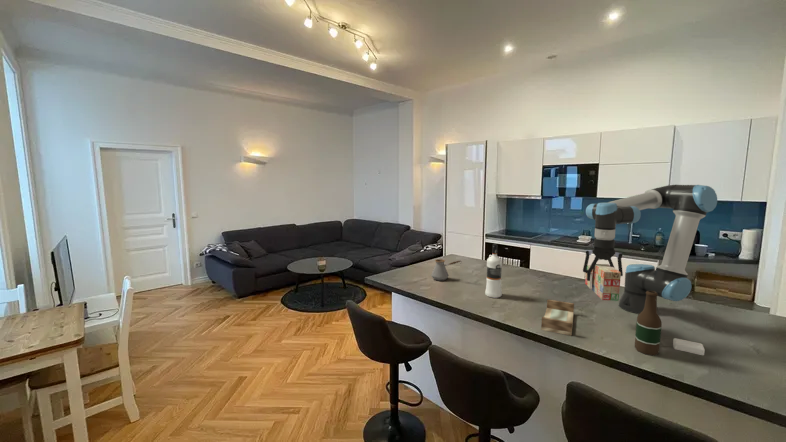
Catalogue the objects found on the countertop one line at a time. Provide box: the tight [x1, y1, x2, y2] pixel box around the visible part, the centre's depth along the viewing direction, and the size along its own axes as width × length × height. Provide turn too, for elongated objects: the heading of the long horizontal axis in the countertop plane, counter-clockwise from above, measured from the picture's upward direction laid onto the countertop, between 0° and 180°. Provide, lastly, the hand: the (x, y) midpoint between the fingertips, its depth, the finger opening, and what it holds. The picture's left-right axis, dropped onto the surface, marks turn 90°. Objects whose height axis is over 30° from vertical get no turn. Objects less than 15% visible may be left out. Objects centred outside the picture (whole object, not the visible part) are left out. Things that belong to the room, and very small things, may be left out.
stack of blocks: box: [584, 263, 622, 302], centre depth 148 cm, size 21×6×12 cm, turn 168°
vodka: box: [484, 243, 503, 299], centre depth 192 cm, size 9×9×30 cm
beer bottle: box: [634, 291, 663, 356], centre depth 130 cm, size 8×8×24 cm
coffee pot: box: [430, 258, 463, 282], centre depth 222 cm, size 21×12×15 cm, turn 52°
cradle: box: [540, 299, 575, 337], centre depth 158 cm, size 12×26×6 cm, turn 150°
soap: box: [672, 337, 706, 356], centre depth 132 cm, size 9×6×3 cm, turn 54°
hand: (601, 289), depth 148 cm, fingers closed on stack of blocks, 7 cm apart
